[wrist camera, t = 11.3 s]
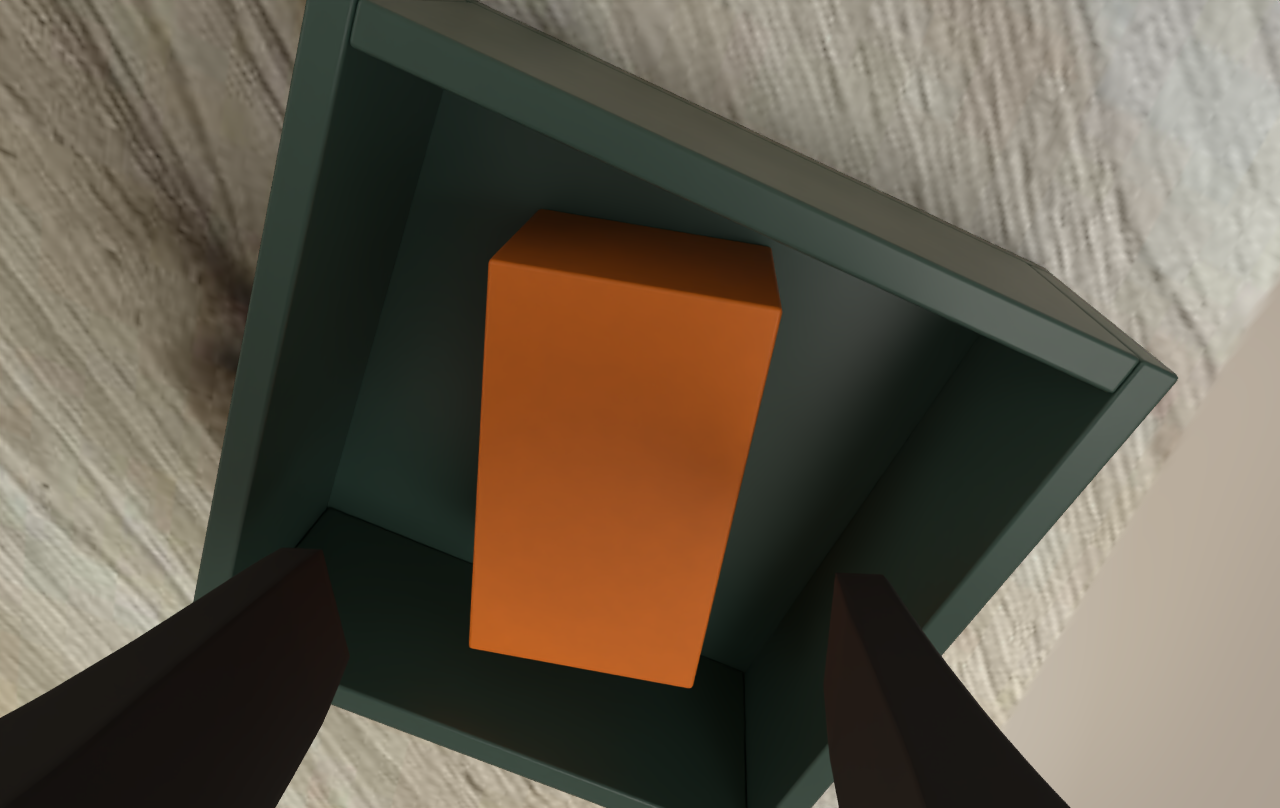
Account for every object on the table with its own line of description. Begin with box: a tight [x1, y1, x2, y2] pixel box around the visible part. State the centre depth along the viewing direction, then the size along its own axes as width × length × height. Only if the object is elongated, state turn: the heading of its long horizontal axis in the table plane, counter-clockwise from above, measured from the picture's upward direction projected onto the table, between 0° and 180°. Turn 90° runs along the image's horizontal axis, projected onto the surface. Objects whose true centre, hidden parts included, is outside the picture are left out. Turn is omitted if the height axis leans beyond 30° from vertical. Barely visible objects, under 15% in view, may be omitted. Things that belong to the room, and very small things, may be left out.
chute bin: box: [193, 0, 1178, 808], centre depth 15 cm, size 12×12×5 cm
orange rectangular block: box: [469, 209, 782, 688], centre depth 15 cm, size 4×8×4 cm, turn 172°
